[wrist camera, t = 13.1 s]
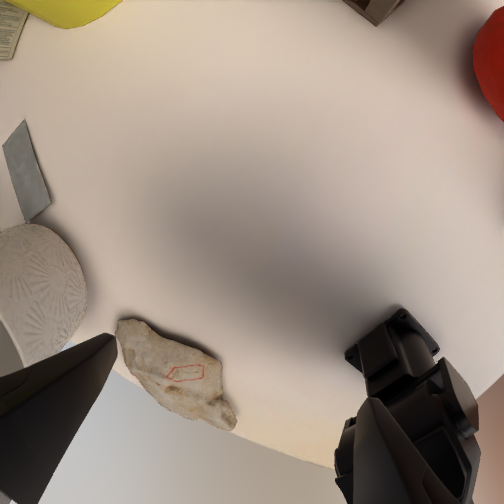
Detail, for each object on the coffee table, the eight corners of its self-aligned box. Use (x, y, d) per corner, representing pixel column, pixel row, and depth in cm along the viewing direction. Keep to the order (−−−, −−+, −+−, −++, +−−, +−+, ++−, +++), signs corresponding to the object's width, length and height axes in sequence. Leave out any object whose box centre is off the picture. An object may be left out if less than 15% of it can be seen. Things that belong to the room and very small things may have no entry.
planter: (13, 198, 23) (-70, 236, 13) (104, 233, 23) (9, 299, 13) (21, 297, 28) (-38, 348, 19) (101, 342, 28) (44, 415, 18)
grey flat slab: (25, 117, 20) (28, 117, 20) (2, 144, 22) (5, 144, 22) (48, 205, 22) (52, 204, 22) (23, 225, 24) (26, 224, 24)
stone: (240, 415, 29) (234, 436, 27) (151, 407, 31) (142, 424, 29) (211, 314, 25) (201, 335, 22) (108, 313, 27) (92, 330, 24)
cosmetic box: (-6, 59, 18) (37, -39, 13) (12, 61, 18) (60, -45, 13) (-51, 59, 12) (-2, -52, 7) (-37, 59, 12) (19, -62, 7)
